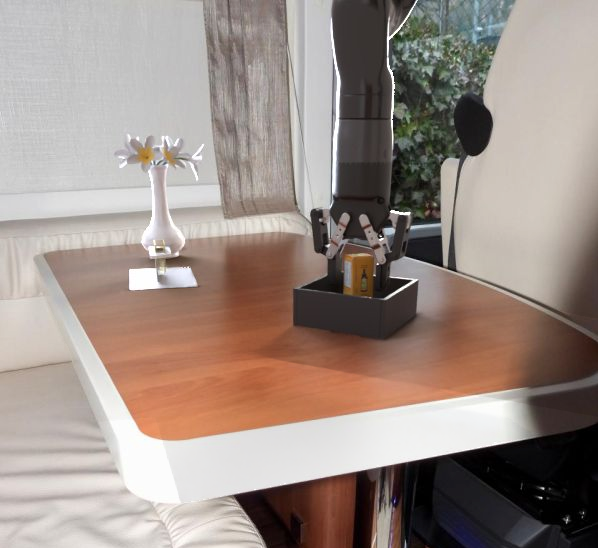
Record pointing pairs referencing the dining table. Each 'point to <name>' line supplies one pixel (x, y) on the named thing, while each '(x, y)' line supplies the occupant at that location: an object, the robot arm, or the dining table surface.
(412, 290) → the basket
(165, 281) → the platform
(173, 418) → the dining table surface
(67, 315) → the dining table surface
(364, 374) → the dining table surface
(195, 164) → the flower vase
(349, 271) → the supplement box
